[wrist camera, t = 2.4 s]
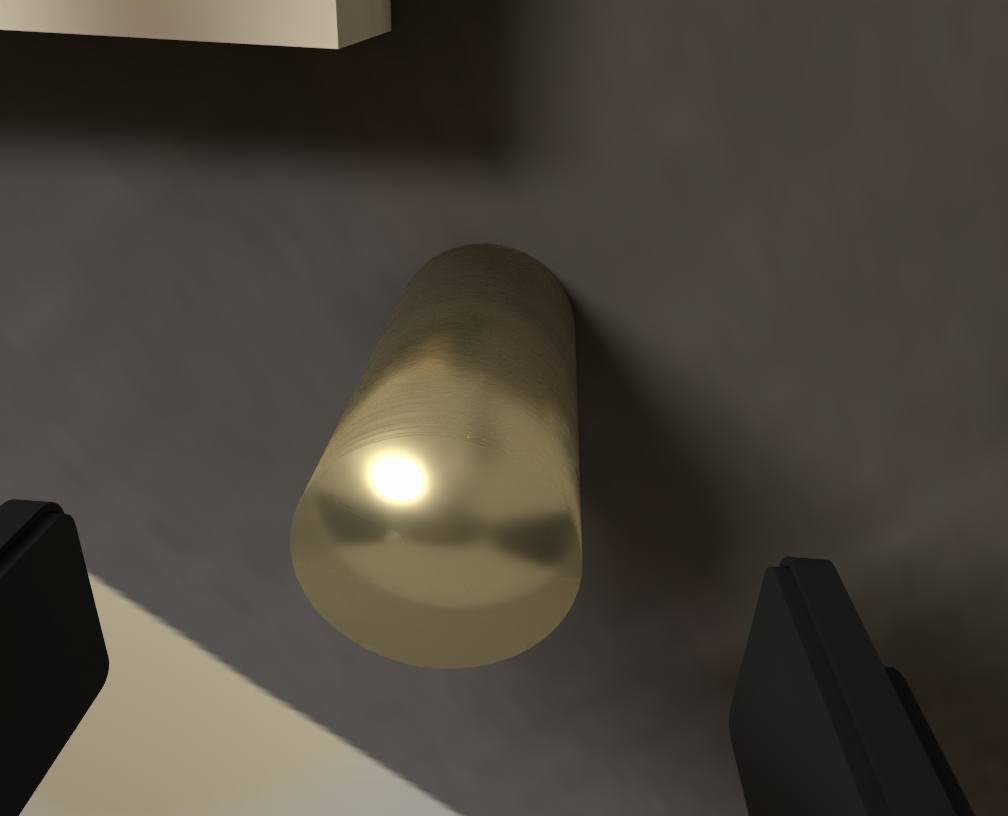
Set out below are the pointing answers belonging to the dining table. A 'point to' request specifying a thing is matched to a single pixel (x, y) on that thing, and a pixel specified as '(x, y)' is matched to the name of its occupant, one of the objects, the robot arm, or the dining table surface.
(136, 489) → the dining table surface
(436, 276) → the brass pin
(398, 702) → the dining table surface
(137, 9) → the block
